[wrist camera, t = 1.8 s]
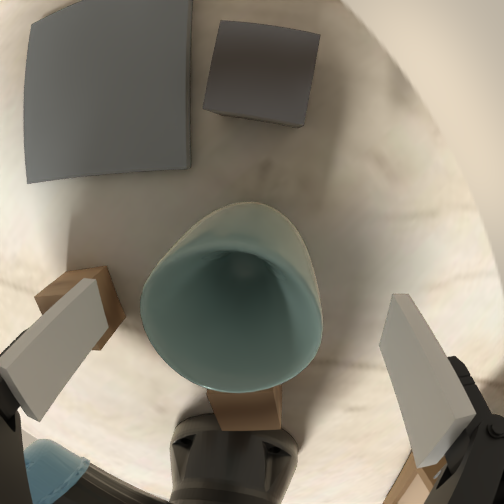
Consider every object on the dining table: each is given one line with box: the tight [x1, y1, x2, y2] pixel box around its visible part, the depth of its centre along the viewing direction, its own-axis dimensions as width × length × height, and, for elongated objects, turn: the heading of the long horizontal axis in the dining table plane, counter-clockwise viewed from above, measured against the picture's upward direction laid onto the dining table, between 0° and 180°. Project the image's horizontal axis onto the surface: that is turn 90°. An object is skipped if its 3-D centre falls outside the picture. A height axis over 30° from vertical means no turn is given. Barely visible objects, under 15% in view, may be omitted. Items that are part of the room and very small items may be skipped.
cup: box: [140, 202, 323, 393], centre depth 17 cm, size 8×8×10 cm
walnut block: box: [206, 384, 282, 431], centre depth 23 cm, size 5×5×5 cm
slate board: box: [24, 0, 193, 184], centre depth 17 cm, size 15×15×1 cm
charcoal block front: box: [203, 20, 320, 128], centre depth 15 cm, size 5×5×5 cm
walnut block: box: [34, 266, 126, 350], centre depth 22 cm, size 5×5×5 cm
